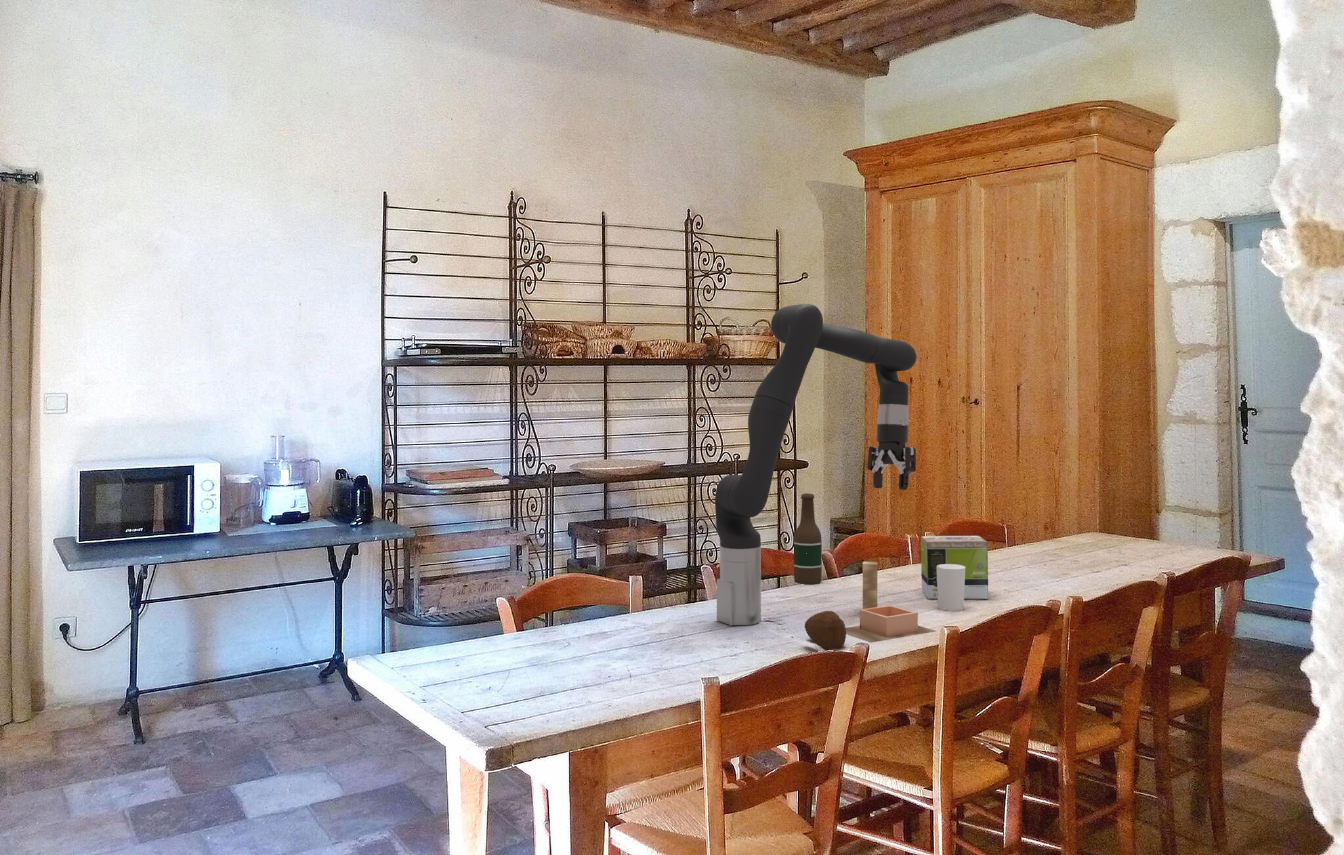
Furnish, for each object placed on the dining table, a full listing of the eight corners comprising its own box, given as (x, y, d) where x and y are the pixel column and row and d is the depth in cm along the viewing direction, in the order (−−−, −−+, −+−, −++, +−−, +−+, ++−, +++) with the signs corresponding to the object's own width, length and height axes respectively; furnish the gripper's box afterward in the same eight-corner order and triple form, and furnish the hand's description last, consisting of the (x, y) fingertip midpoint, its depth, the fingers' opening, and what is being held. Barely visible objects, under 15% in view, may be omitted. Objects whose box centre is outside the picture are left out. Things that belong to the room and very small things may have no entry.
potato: (830, 657, 196) (830, 617, 196) (797, 646, 204) (797, 608, 204) (857, 651, 200) (857, 612, 200) (824, 641, 208) (824, 604, 208)
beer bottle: (813, 585, 265) (813, 496, 264) (788, 582, 270) (787, 494, 269) (827, 581, 271) (827, 493, 270) (802, 577, 276) (802, 491, 275)
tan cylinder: (859, 621, 225) (859, 564, 225) (860, 616, 230) (860, 561, 229) (879, 622, 224) (879, 565, 224) (880, 617, 229) (880, 561, 228)
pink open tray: (886, 636, 207) (886, 617, 207) (859, 628, 214) (859, 609, 214) (917, 631, 211) (917, 612, 211) (890, 623, 218) (890, 605, 218)
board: (870, 648, 203) (870, 642, 202) (833, 635, 213) (833, 629, 213) (936, 636, 211) (936, 630, 211) (897, 624, 222) (897, 619, 222)
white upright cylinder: (966, 611, 234) (966, 569, 233) (937, 610, 235) (937, 568, 235) (964, 605, 240) (964, 564, 240) (935, 604, 242) (935, 563, 241)
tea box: (980, 591, 256) (980, 534, 255) (988, 600, 246) (989, 540, 245) (920, 591, 258) (920, 534, 257) (926, 599, 248) (926, 540, 247)
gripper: (861, 422, 251) (859, 487, 250) (902, 422, 239) (900, 489, 238) (883, 424, 255) (880, 488, 254) (925, 424, 243) (922, 490, 242)
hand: (890, 488), depth 246 cm, fingers open, 8 cm apart
